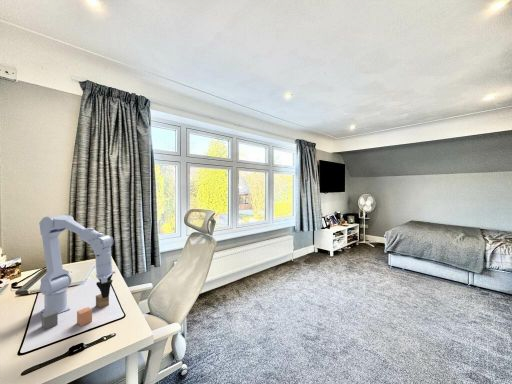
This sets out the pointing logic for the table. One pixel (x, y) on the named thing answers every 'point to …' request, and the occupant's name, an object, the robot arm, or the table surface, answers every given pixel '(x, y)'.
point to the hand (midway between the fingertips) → (106, 294)
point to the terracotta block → (84, 316)
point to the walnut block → (101, 301)
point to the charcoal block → (49, 319)
